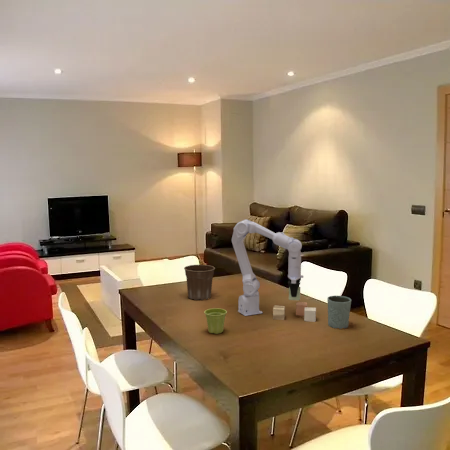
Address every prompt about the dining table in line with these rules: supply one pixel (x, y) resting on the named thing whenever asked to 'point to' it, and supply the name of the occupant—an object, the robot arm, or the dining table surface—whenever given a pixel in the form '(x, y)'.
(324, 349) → the dining table surface
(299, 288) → the sage block
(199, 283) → the plant pot
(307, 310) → the offwhite block
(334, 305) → the blue-grey tapered cup
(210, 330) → the plant pot
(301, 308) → the terracotta block
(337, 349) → the dining table surface
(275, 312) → the maple block
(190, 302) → the dining table surface
